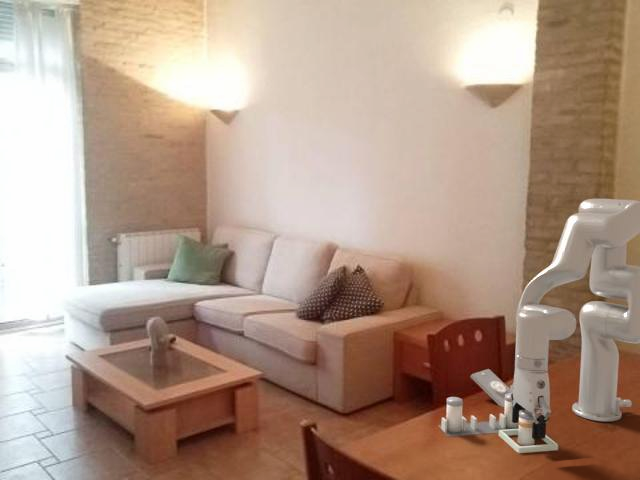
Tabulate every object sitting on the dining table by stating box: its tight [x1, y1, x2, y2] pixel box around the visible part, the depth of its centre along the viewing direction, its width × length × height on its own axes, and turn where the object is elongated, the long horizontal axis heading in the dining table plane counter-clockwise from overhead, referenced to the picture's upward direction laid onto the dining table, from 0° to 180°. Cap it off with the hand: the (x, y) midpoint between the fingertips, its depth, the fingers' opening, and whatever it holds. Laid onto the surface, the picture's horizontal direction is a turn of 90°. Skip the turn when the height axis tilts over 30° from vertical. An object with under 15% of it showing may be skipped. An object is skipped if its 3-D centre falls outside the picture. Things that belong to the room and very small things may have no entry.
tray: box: [498, 429, 559, 454], centre depth 155 cm, size 10×10×2 cm
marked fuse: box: [517, 409, 536, 446], centre depth 154 cm, size 4×4×8 cm
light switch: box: [470, 368, 511, 409], centre depth 184 cm, size 8×6×14 cm
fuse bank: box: [437, 393, 519, 438], centre depth 163 cm, size 22×7×9 cm, turn 101°
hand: (528, 430), depth 154 cm, fingers open, 9 cm apart
